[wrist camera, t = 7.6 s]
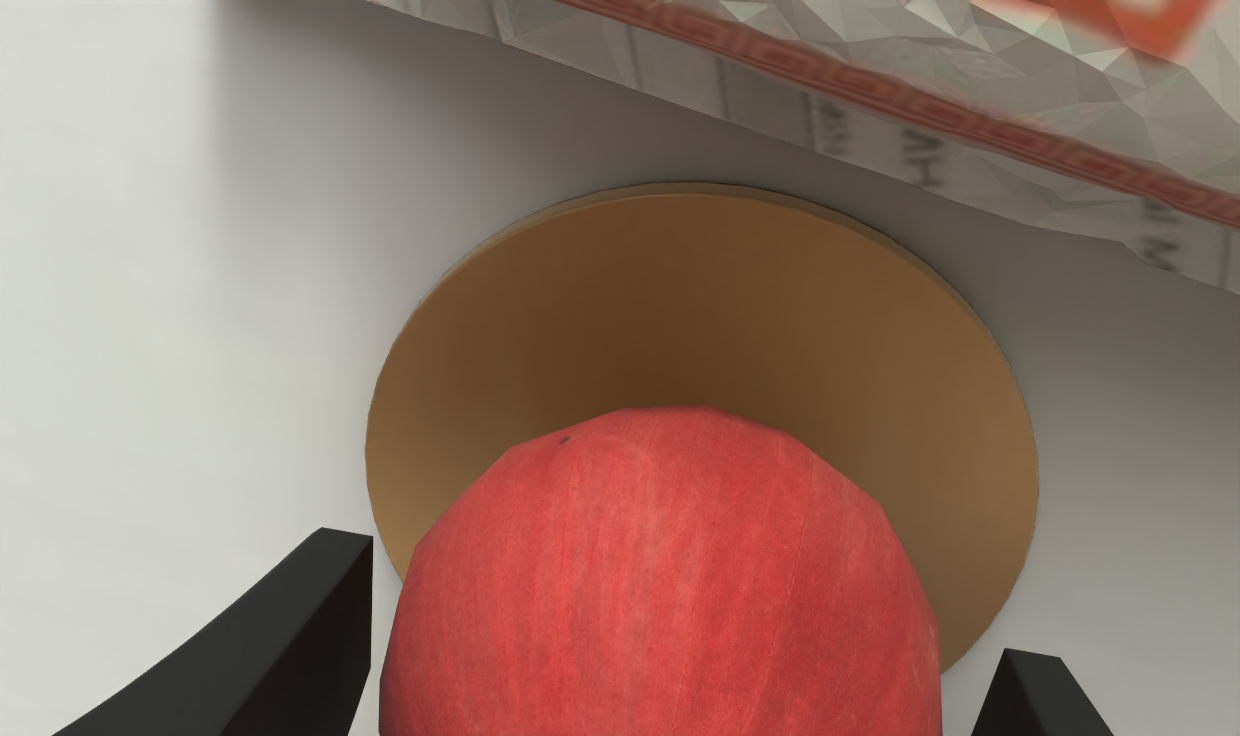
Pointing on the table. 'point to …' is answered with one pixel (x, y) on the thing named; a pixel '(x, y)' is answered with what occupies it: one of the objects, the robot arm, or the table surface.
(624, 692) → the onion
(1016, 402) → the coaster
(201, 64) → the table surface
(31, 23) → the table surface
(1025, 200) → the packaged product
